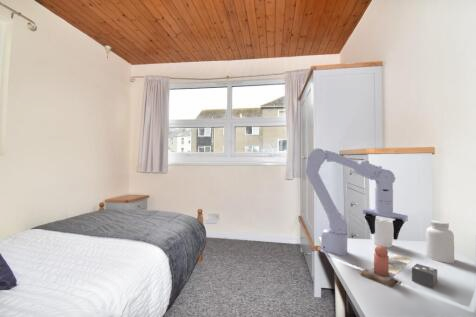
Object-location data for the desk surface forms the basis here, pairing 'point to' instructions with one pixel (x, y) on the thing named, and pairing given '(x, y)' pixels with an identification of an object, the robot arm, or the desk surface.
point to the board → (393, 268)
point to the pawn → (381, 261)
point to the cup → (383, 232)
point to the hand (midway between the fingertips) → (383, 236)
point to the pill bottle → (440, 242)
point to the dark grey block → (424, 275)
